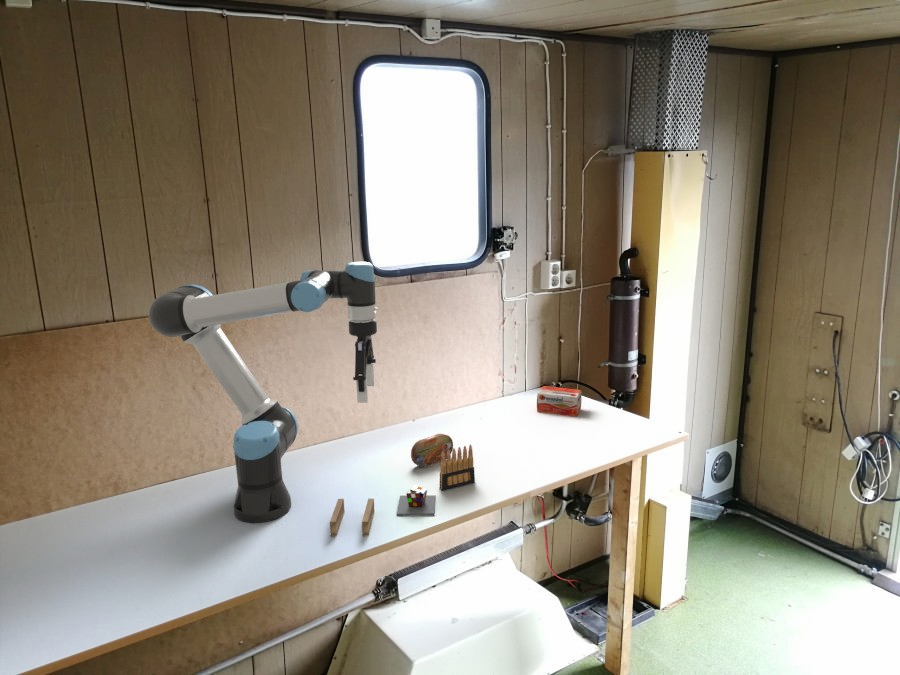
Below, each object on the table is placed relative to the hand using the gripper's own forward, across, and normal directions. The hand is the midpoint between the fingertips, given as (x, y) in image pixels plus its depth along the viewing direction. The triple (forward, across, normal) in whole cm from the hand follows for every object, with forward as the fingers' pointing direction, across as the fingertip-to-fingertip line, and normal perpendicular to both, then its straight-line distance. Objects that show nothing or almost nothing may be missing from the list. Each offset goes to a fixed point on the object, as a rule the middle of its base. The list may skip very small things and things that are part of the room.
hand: (366, 393), depth 191 cm
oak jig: (+29, -20, +2) cm, 35 cm away
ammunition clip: (+29, +1, -25) cm, 38 cm away
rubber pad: (+29, -11, -14) cm, 34 cm away
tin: (+29, +17, -17) cm, 38 cm away
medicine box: (+29, +60, -62) cm, 91 cm away
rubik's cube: (+28, -11, -14) cm, 33 cm away
